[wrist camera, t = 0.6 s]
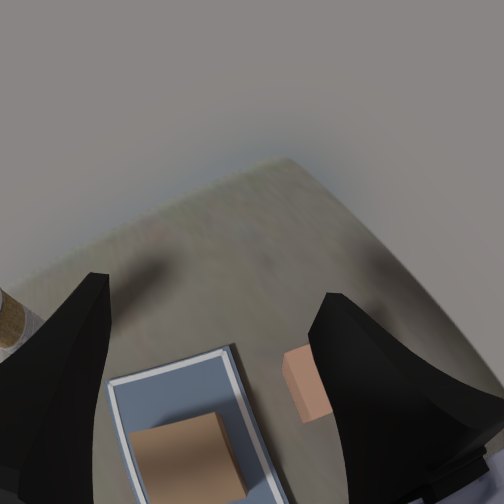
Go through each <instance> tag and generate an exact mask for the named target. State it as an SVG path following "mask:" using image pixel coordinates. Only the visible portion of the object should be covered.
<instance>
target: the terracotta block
mask: <svg viewBox="0 0 504 504" xmlns="http://www.w3.org/2000/svg"><path fill="white" fill-rule="evenodd" d="M282 372H283V375H284V377H285V379H286V382H287V384H288V387H289V389H290V392H291V394H292V397H293V399H294V402H295V404H296V407H297V409H298V412H299V414H300V416H301V419H302V421H303V423H306V422H309V421H312V420H315V419H317V418H320V417H322V416H324V415H327V414H329V413H331V412H333V410H332V407H331V405H330V402H329V400H328V397H327V394H326V392H325V389H324V386H323V384H322V381H321V379H320V376H319V373H318V371H317V368H316V365H315V362H314V360H313V356H312V352H311V348H310V344H308V345H305V346H303V347H300V348H297V349H295V350H292V351H290V352H287V353H285V354H284V360H283V366H282Z"/></svg>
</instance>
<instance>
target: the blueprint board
mask: <svg viewBox="0 0 504 504" xmlns="http://www.w3.org/2000/svg"><path fill="white" fill-rule="evenodd" d="M104 385H105V390H106V395H107V399H108V404H109V408H110V413H111V417H112V421H113V425H114V429H115V433H116V437H117V440H118V444H119V448H120V451H121V455H122V458H123V461H124V465H125V468H126V471H127V474H128V477H129V480H130V483H131V486H132V489H133V492H134V495H135V498H136V500H137V503H138V504H151V503H150V500H149V497H148V495H147V492H146V489H145V486H144V483H143V480H142V477H141V474H140V471H139V468H138V465H137V462H136V459H135V455H134V452H133V449H132V445H131V442H130V438H129V435H128V433H132V432H137V431H141V430H146V429H151V428H155V427H159V426H164V425H168V424H172V423H176V422H180V421H184V420H187V419H191V418H195V417H198V416H202V415H206V414H209V413H212V412H216V413H218V414H221V417H222V420H223V423H224V426H225V429H226V431H227V434H228V437H229V440H230V442H231V445H232V448H233V451H234V453H235V456H236V458H237V461H238V464H239V466H240V469H241V471H242V474H243V477H244V479H245V482H246V484H247V487H248V489H249V493H248V495H247V498H244V499H240V500H237V501H233V502H229V503H225V504H289V502H288V500H287V497H286V495H285V492H284V490H283V488H282V485H281V483H280V480H279V478H278V476H277V473H276V471H275V468H274V466H273V463H272V461H271V458H270V456H269V453H268V451H267V448H266V446H265V443H264V440H263V438H262V435H261V433H260V430H259V427H258V425H257V422H256V420H255V417H254V414H253V412H252V409H251V406H250V403H249V401H248V398H247V395H246V393H245V390H244V387H243V384H242V382H241V379H240V376H239V373H238V370H237V368H236V365H235V362H234V359H233V356H232V353H231V350H230V347H229V345H228V346H225V347H222V348H219V349H216V350H213V351H210V352H207V353H203V354H200V355H197V356H194V357H191V358H187V359H184V360H181V361H177V362H174V363H170V364H167V365H164V366H160V367H157V368H153V369H149V370H146V371H142V372H138V373H135V374H131V375H127V376H123V377H119V378H116V379H112V380H108V381H104Z"/></svg>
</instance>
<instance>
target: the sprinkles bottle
mask: <svg viewBox="0 0 504 504" xmlns="http://www.w3.org/2000/svg"><path fill="white" fill-rule="evenodd" d="M45 322H46V321H45V320H43V319H42V318H41V317H39V316H38V315H36V314H35V313H34V312H32V311H31V310H29V309H28V308H27V307H25V306H24V305H22V304H21V303H19V302H17V301H16V300H15V299H13V298H12V297H11V296H9V295H8V294H7V293H5V292H4V291H2V289H1V288H0V348H1V349H3V350H5V351H7V352H9V353H11V354H13V353H14V352H15V351H16V350H17V349H18V348H19V347H21V346H22V345H23V344H24V343H25V342H26V341H27V340H28V339H29V338H30V337H31V336H32V335H33V334H34V333H35V332H36V331H37V330H38V329H39V328H40V327H41V326H42V325H43V324H44V323H45Z"/></svg>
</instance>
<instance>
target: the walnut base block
mask: <svg viewBox="0 0 504 504" xmlns="http://www.w3.org/2000/svg"><path fill="white" fill-rule="evenodd" d="M128 435H129V438H130V442H131V445H132V449H133V452H134V455H135V459H136V462H137V465H138V468H139V471H140V474H141V477H142V480H143V483H144V486H145V489H146V492H147V495H148V497H149V500H150V503H151V504H225V503H229V502H233V501H237V500H240V499H244V498H247V495H248V493H249V489H248V487H247V484H246V482H245V479H244V477H243V474H242V471H241V469H240V466H239V464H238V461H237V458H236V456H235V453H234V451H233V448H232V445H231V442H230V440H229V437H228V434H227V431H226V429H225V426H224V423H223V420H222V417H221V414H218V413H216V412H212V413H209V414H206V415H202V416H198V417H195V418H191V419H187V420H184V421H180V422H176V423H172V424H168V425H164V426H159V427H155V428H151V429H146V430H141V431H137V432H132V433H128Z"/></svg>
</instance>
